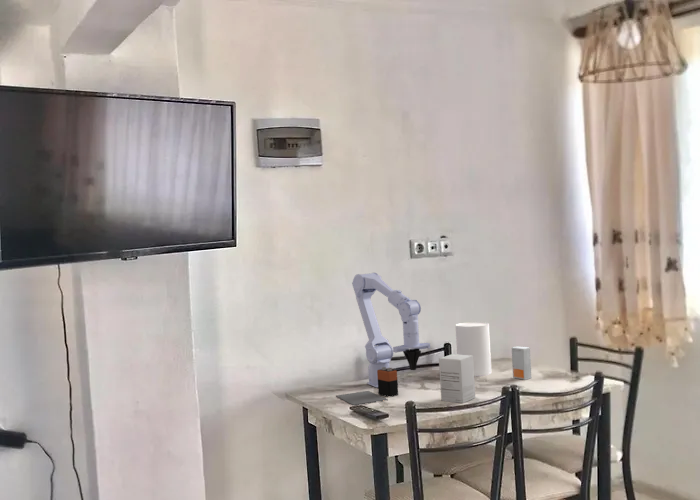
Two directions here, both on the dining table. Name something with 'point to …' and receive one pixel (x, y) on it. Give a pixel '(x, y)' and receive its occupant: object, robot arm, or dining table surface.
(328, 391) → the dining table surface
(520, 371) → the skincare box
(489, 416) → the dining table surface
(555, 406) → the dining table surface
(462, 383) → the supplement box
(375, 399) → the mat
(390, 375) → the battery
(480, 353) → the canister
